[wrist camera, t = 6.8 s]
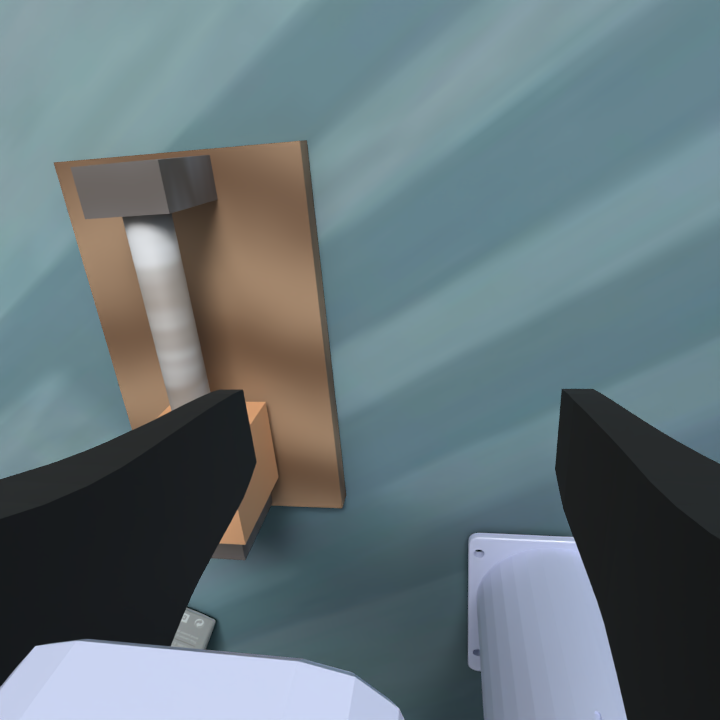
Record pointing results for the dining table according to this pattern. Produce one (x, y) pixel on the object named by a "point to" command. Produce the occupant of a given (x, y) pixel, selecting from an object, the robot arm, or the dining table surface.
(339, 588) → the dining table surface
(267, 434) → the slider
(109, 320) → the rail
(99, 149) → the dining table surface
